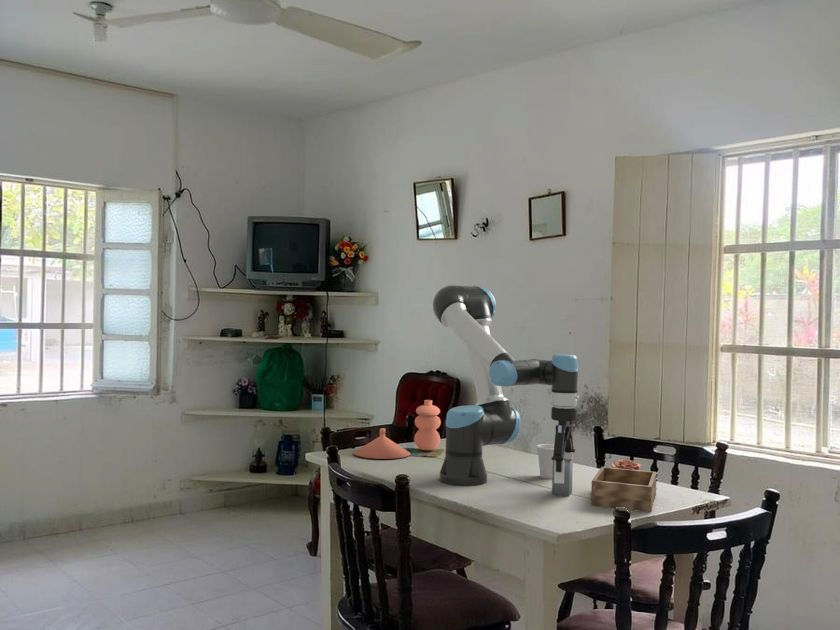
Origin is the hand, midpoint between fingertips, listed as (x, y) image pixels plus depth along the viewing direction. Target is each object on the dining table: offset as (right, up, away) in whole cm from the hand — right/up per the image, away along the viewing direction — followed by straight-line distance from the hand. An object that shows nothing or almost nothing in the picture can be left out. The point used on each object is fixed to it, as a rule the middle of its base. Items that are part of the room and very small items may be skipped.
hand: (563, 478), depth 221 cm
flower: (+22, -5, +14) cm, 27 cm away
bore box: (+16, -5, -6) cm, 18 cm away
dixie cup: (0, -5, +23) cm, 23 cm away
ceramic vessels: (-51, -3, +60) cm, 78 cm away
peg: (0, -5, 0) cm, 5 cm away
